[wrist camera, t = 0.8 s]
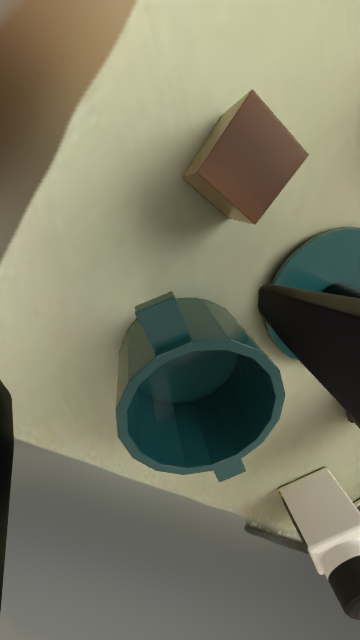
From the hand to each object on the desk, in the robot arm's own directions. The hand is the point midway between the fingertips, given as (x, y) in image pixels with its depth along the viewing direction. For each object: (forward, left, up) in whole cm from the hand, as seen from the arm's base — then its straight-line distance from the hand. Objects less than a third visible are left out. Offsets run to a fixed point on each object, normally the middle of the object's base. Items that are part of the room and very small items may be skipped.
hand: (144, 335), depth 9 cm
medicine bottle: (-8, +38, -13) cm, 41 cm away
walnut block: (-8, -3, -13) cm, 15 cm away
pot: (0, +10, -13) cm, 16 cm away
